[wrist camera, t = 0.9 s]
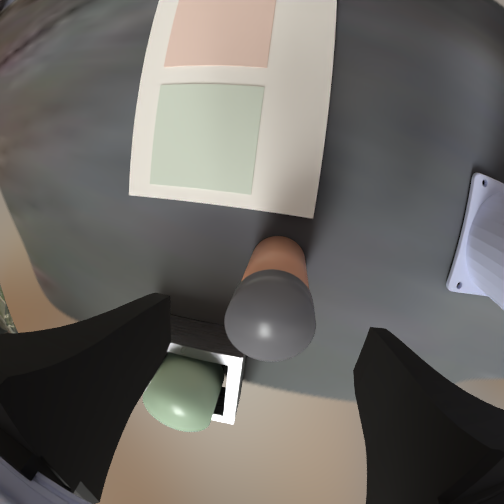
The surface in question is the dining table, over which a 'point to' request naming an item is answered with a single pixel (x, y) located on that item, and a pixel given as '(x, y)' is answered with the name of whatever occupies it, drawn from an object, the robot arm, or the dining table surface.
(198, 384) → the button
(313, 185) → the picture sheet
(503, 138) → the dining table surface
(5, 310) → the eiffel tower figurine
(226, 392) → the frame
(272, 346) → the marker
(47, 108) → the dining table surface
